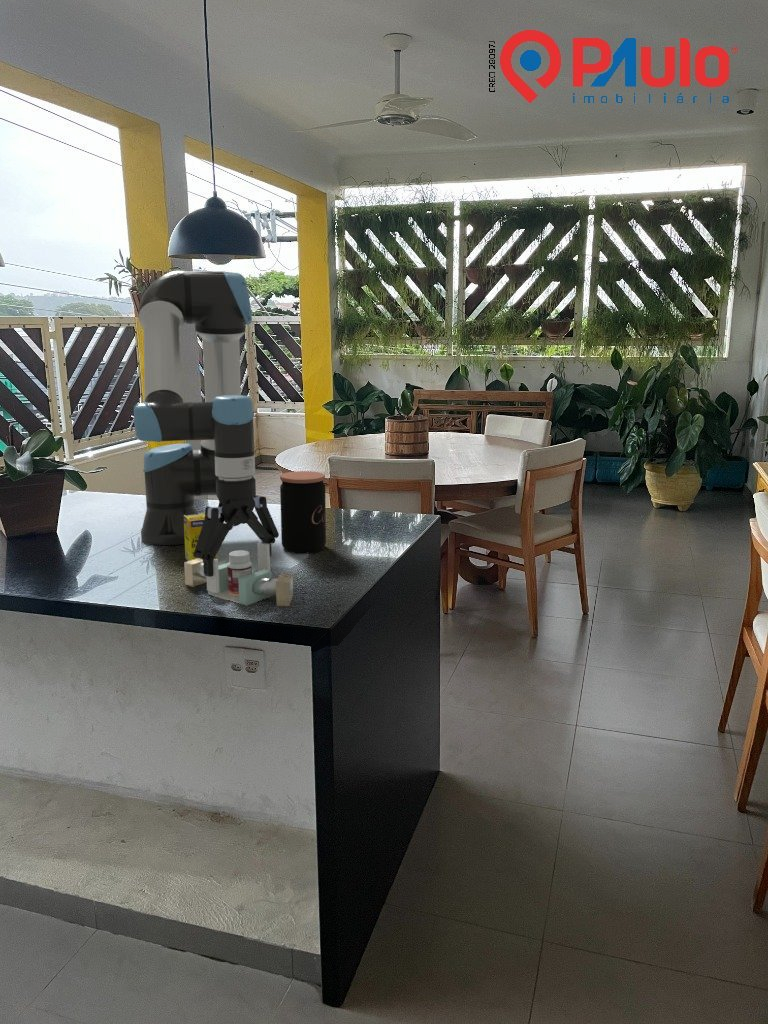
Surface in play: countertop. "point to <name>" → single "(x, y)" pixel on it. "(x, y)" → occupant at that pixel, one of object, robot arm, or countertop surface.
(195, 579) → the shaft
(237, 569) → the pill bottle
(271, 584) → the shaft
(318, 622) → the countertop surface
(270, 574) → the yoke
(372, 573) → the countertop surface
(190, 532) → the supplement box
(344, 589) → the countertop surface
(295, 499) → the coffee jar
